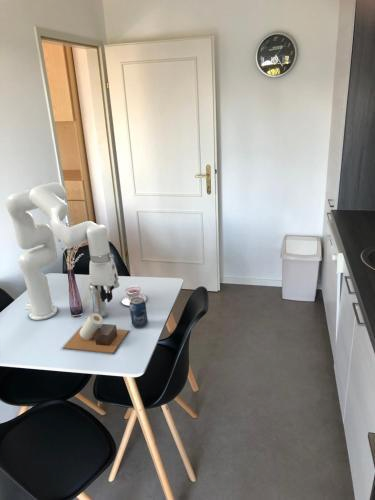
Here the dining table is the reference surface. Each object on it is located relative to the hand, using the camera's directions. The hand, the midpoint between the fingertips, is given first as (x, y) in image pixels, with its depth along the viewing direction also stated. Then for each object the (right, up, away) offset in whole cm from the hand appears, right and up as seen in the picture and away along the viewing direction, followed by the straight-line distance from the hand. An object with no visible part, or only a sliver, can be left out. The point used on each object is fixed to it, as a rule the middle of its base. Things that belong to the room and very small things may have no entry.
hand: (107, 300), depth 166 cm
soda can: (+11, -13, +18) cm, 25 cm away
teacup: (+6, -5, +39) cm, 40 cm away
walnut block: (-1, -18, +8) cm, 19 cm away
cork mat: (-6, -18, +9) cm, 21 cm away
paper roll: (-8, -12, +7) cm, 16 cm away
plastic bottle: (-8, -11, +28) cm, 31 cm away
